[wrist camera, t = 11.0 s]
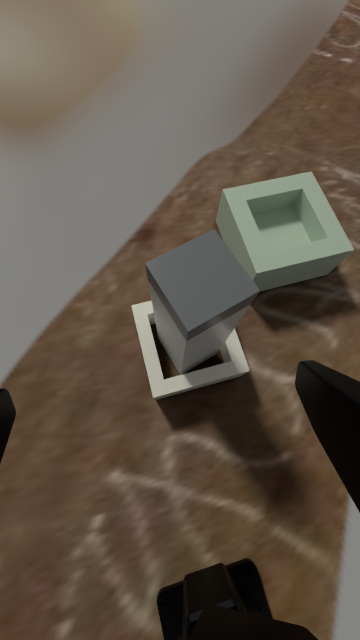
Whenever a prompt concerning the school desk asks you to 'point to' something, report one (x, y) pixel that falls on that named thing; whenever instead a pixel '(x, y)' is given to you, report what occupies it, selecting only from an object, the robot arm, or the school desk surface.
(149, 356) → the low collar
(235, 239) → the raised socket
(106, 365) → the school desk surface
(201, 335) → the plug
